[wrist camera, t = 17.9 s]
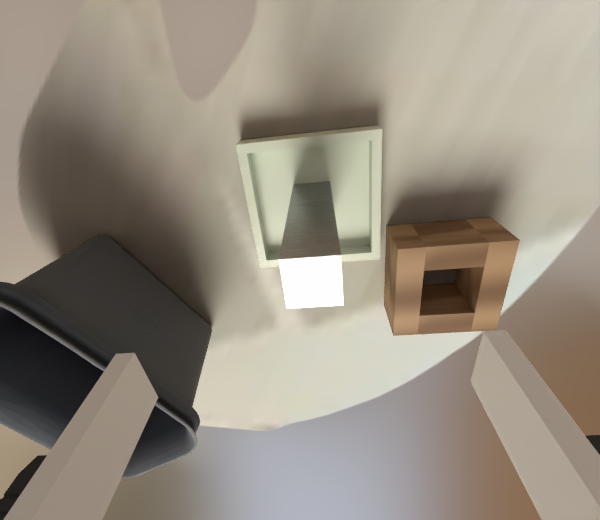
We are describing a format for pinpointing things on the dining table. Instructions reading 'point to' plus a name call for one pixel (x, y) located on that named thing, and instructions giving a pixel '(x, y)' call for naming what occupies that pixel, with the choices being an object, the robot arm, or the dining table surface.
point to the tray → (308, 169)
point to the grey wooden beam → (311, 249)
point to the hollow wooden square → (447, 255)
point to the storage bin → (99, 348)
